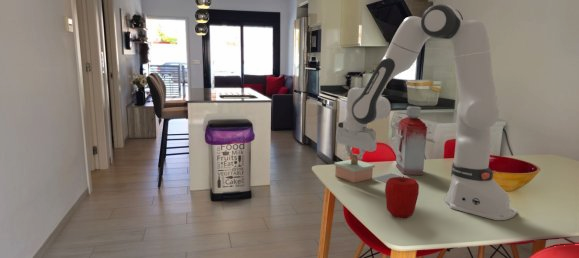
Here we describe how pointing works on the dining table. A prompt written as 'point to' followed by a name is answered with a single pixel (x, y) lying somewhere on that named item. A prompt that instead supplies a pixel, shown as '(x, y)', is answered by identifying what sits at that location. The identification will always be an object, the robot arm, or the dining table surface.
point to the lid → (354, 164)
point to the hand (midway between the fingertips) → (354, 157)
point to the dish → (353, 174)
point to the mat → (386, 177)
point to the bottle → (411, 143)
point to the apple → (401, 196)
